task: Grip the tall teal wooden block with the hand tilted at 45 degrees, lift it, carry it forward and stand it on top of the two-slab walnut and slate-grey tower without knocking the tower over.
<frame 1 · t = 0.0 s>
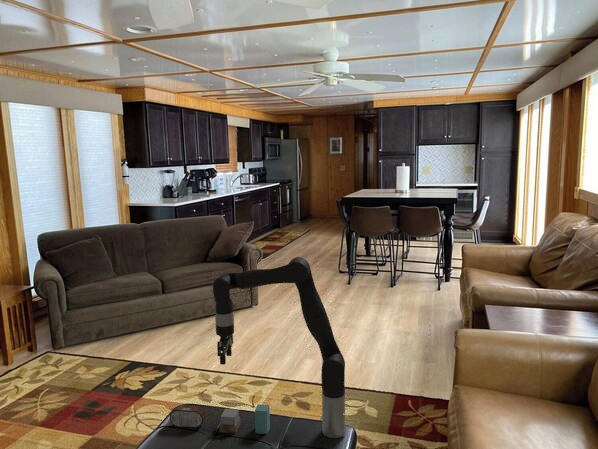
hand: (226, 359, 191), 29 cm above the table, tool pointing down, fingers open, 8 cm apart
tin: (187, 426, 195), on the table
tower base: (230, 428, 193), on the table, touching tower top
tower top: (230, 420, 193), point 3 cm above the table, touching tower base
block: (262, 430, 191), on the table
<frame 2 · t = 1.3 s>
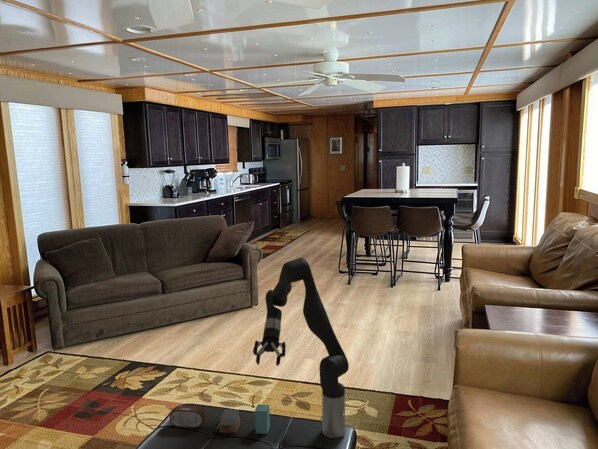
hand: (267, 364, 201), 23 cm above the table, tool tilted 45°, fingers open, 8 cm apart
nothing on the table moved.
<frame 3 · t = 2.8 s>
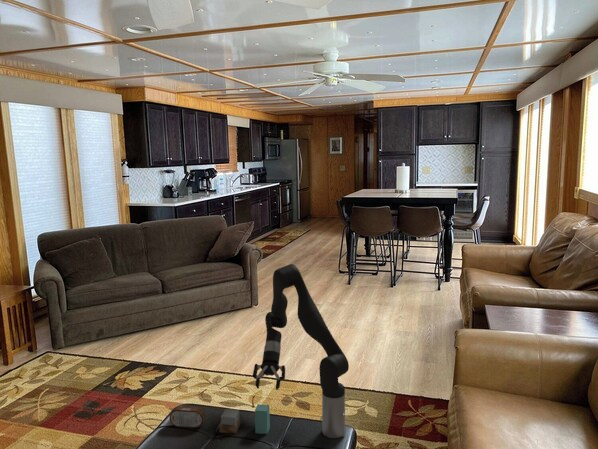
hand: (267, 388, 200), 13 cm above the table, tool tilted 45°, fingers open, 8 cm apart
nothing on the table moved.
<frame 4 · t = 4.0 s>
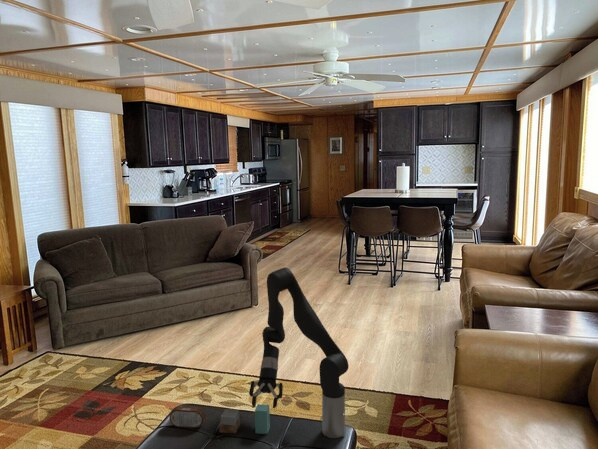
hand: (264, 407, 194), 8 cm above the table, tool tilted 45°, fingers open, 8 cm apart
nothing on the table moved.
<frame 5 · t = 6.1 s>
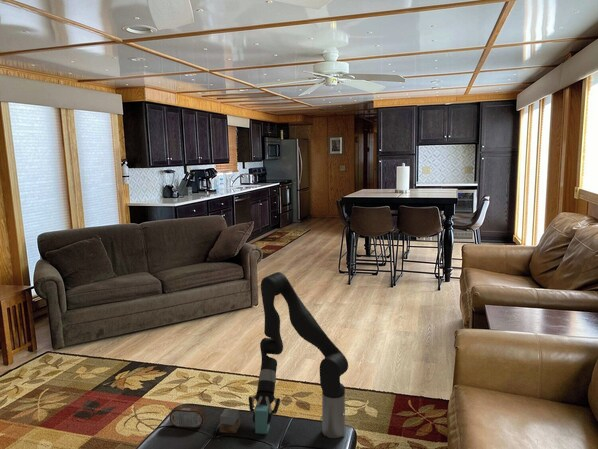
hand: (261, 423, 189), 4 cm above the table, tool tilted 45°, fingers closed on block, 5 cm apart
tower base: (230, 428, 193), on the table
tower top: (229, 420, 193), point 3 cm above the table
block: (262, 430, 191), on the table, touching gripper
everything else where it was.
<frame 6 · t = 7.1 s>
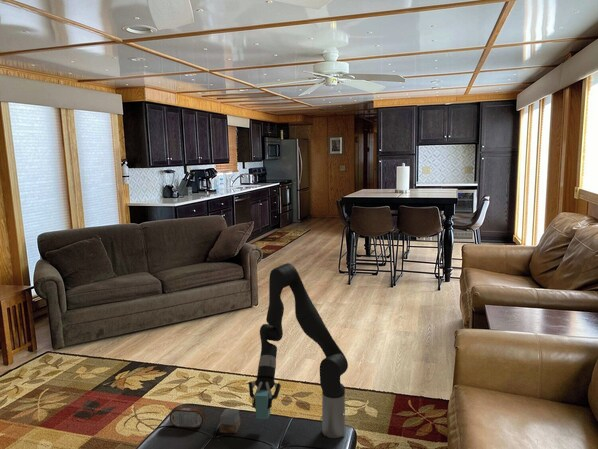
hand: (261, 408, 188), 11 cm above the table, tool tilted 45°, fingers closed on block, 5 cm apart
tower base: (230, 428, 193), on the table, touching tower top
tower top: (230, 420, 193), point 3 cm above the table, touching tower base
block: (263, 415, 190), point 7 cm above the table, touching gripper
everything else where it was.
when the fingers open (13 cm above the table, at t = 11.1 s): block drops 2 cm, resting on tower top.
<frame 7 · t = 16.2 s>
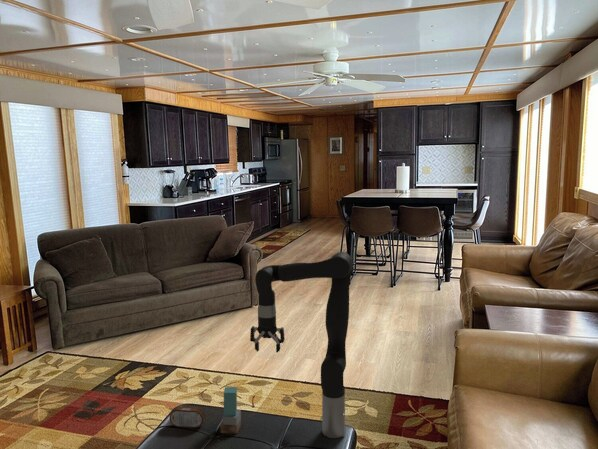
hand: (267, 351, 193), 32 cm above the table, tool pointing down, fingers open, 8 cm apart
tower top: (231, 421, 192), point 3 cm above the table, touching block, tower base
block: (230, 412, 192), point 7 cm above the table, touching tower top
everything else where it was.
at the end: block 0.5 cm off-centre on the tower base, point 7.1 cm above the tower base's base; block tilted 2°; tower top 0.5 cm off-centre on the tower base, point 3.5 cm above the tower base's base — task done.
